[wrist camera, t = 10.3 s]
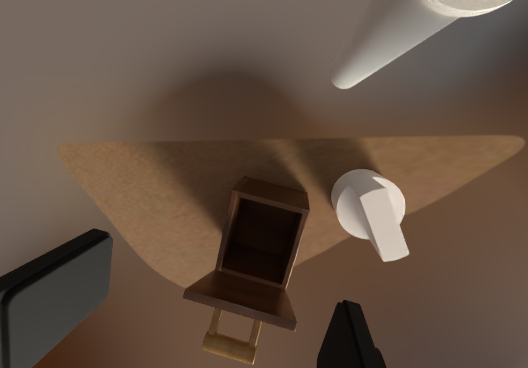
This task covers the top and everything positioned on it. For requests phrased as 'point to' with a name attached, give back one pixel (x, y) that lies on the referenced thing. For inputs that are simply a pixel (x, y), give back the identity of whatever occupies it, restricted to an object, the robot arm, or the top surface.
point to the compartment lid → (240, 310)
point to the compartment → (263, 231)
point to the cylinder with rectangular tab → (371, 211)
